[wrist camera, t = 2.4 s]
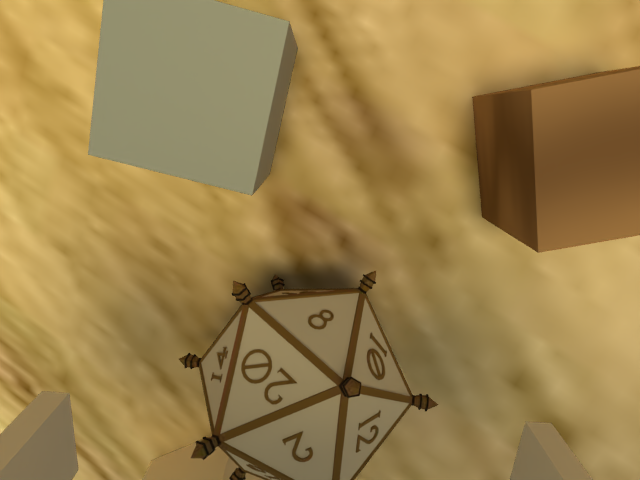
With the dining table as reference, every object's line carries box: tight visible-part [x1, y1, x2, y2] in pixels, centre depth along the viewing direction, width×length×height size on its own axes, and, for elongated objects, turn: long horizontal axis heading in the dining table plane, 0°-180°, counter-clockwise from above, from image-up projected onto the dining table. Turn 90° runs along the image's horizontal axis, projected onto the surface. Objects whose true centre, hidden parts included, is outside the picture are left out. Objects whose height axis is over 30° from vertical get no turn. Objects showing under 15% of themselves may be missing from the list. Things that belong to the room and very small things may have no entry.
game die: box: [179, 271, 438, 480], centre depth 16 cm, size 9×8×10 cm
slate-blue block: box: [88, 0, 298, 195], centre depth 15 cm, size 5×5×5 cm
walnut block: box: [472, 66, 640, 253], centre depth 15 cm, size 5×5×5 cm
